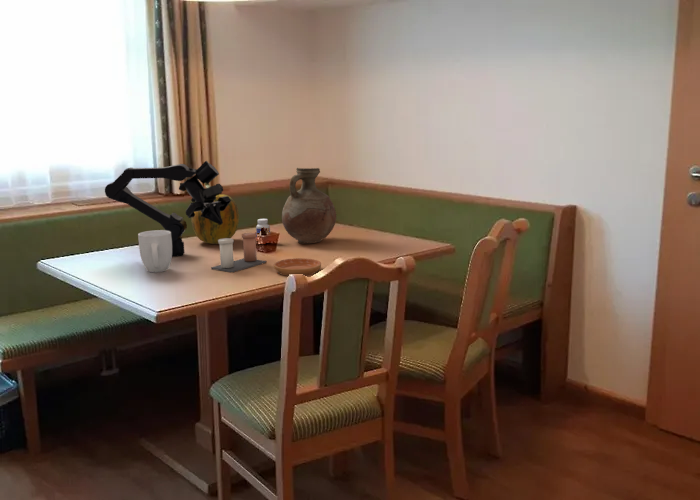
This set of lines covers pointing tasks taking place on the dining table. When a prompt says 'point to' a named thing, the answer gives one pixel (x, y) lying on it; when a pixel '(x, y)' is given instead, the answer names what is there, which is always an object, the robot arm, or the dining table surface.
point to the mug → (155, 249)
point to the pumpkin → (212, 230)
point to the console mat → (239, 265)
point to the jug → (308, 209)
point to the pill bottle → (262, 225)
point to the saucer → (297, 266)
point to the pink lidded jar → (249, 246)
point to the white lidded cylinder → (226, 252)
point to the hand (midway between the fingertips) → (221, 223)
